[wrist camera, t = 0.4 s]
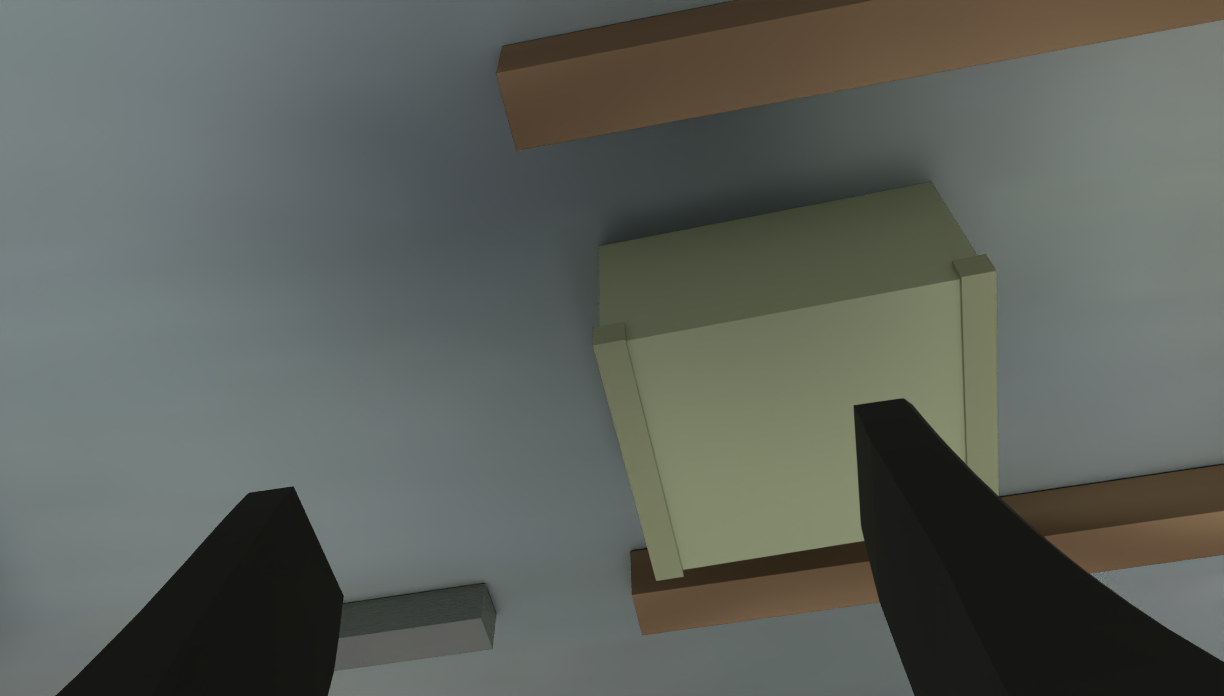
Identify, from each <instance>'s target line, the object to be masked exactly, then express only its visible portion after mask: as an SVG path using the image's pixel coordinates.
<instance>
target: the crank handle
mask: <svg viewBox="0 0 1224 696" xmlns="http://www.w3.org/2000/svg"><path fill="white" fill-rule="evenodd" d="M495 621H496V612H495V609H494V606H493V604H492V601H491V598H490V596H489V593H488V590H487V587H486V585H485V583H484V584H477V585H470V586H463V587H457V588H450V589H443V590H436V591H429V592H422V593H415V594H409V595H402V596H395V597H388V598H381V599H374V600H367V601H361V602H354V603H347V604H343V606H342V615H341V624H340V633H339V641H338V648H337V655H336V662H335V668H334V671H338V670H345V669H352V668H360V667H367V666H374V665H381V664H388V663H395V662H403V661H410V660H417V659H424V658H431V657H438V656H446V655H453V654H460V653H467V652H474V651H481V650H489V649H493V640H494V630H495Z"/></svg>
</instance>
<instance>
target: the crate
mask: <svg viewBox="0 0 1224 696" xmlns="http://www.w3.org/2000/svg"><path fill="white" fill-rule="evenodd" d="M593 349H594V352H595V356H596V360H597V363H598V367H599V371H600V375H601V378H602V382H603V386H604V389H605V393H606V397H607V401H608V404H609V408H610V412H611V415H612V419H613V423H614V426H615V430H616V434H617V438H618V441H619V445H620V449H621V452H622V456H623V460H624V464H625V467H626V471H627V475H628V478H629V482H630V486H631V489H632V493H633V497H634V501H635V504H636V508H637V512H638V515H639V519H640V523H641V527H642V530H643V534H644V538H645V541H646V545H647V549H648V553H649V556H650V560H651V564H652V567H653V571H654V575H655V578H656V581H659V580H666V579H672V578H678V577H684V573H683V570H685V569H691V568H698V567H704V566H710V565H716V564H723V563H729V562H735V561H741V560H748V559H754V558H760V557H766V556H773V555H779V554H785V553H791V552H797V551H804V550H810V549H816V548H822V547H829V546H835V545H841V544H847V543H854V542H860V541H864V537H863V533H862V529H861V519H860V503H859V487H858V471H857V455H856V439H855V423H854V407H853V405H858V404H865V403H872V402H879V401H886V400H893V399H900V398H904V399H906V400H907V401H908V402H910V403H911V404H913V406H914V407H915V408H916V409H917V410H918V412H919V413H920V414H921V415H922V416H923V418H924V419H925V420H926V421H927V422H928V423H929V425H930V426H931V427H932V428H933V429H934V430H935V431H936V433H937V434H938V435H939V436H940V437H941V438H942V439H943V440H944V441H945V442H946V444H947V445H948V446H949V447H950V448H951V449H952V450H953V451H954V452H955V453H956V454H957V455H958V456H959V457H960V458H961V459H962V460H963V461H964V463H965V464H966V465H967V466H968V467H969V468H970V469H971V470H972V471H973V472H974V473H975V474H976V475H977V476H978V477H979V478H980V479H981V480H982V481H983V482H984V483H985V484H987V485H988V486H989V487H990V488H991V489H992V490H993V491H994V492H995V493H996V494H997V495H998V496H999V483H998V380H997V277H996V269H995V268H994V266H993V265H992V263H991V261H990V260H989V258H988V257H987V255H986V254H984V255H978V256H977V254H976V252H975V251H974V249H973V248H972V246H971V244H970V243H969V241H968V240H967V238H966V236H965V235H964V233H963V232H962V230H961V228H960V227H959V225H958V223H957V222H956V220H955V219H954V217H953V215H952V214H951V212H950V211H949V209H948V207H947V206H946V204H945V203H944V201H943V199H942V198H941V196H940V195H939V193H938V191H937V190H936V188H935V187H934V185H933V183H932V182H927V183H922V184H917V185H912V186H907V187H902V188H897V189H891V190H886V191H881V192H876V193H871V194H866V195H861V196H855V197H850V198H845V199H840V200H835V201H830V202H825V203H819V204H814V205H809V206H804V207H799V208H794V209H788V210H783V211H778V212H773V213H768V214H763V215H758V216H752V217H747V218H742V219H737V220H732V221H727V222H722V223H716V224H711V225H706V226H701V227H696V228H691V229H686V230H680V231H675V232H670V233H665V234H660V235H655V236H650V237H644V238H639V239H634V240H629V241H624V242H619V243H613V244H608V245H603V246H599V326H598V327H593Z"/></svg>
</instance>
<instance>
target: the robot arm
mask: <svg viewBox="0 0 1224 696" xmlns="http://www.w3.org/2000/svg"><path fill="white" fill-rule="evenodd" d="M853 407H854V423H855V439H856V455H857V471H858V487H859V503H860V519H861V529H862V533H863V537H864V541H865V545H866V550H867V554H868V558H869V562H870V566H871V570H872V574H873V578H874V582H875V586H876V590H877V594H878V598H879V601H880V604H881V607H882V609H883V612H884V615H885V618H886V620H887V623H888V626H889V628H890V631H891V634H892V636H893V639H894V642H895V645H896V647H897V650H898V653H899V655H900V658H901V661H902V663H903V666H904V669H905V671H906V674H907V677H908V679H909V682H910V685H911V687H912V690H913V693H914V695H915V696H1224V662H1223V661H1221V660H1219V659H1218V658H1216V657H1214V656H1213V655H1211V654H1209V653H1208V652H1206V651H1204V650H1203V649H1201V648H1199V647H1198V646H1196V645H1194V644H1193V643H1191V642H1189V641H1188V640H1186V639H1184V638H1183V637H1181V636H1179V635H1178V634H1176V633H1174V632H1172V631H1171V630H1169V629H1167V628H1166V627H1164V626H1163V625H1161V624H1160V623H1158V622H1157V621H1155V620H1154V619H1152V618H1151V617H1150V616H1148V615H1147V614H1145V613H1144V612H1142V611H1141V610H1139V609H1138V608H1136V607H1135V606H1133V605H1132V604H1130V603H1129V602H1127V601H1126V600H1125V599H1123V598H1122V597H1120V596H1119V595H1118V594H1116V593H1115V592H1114V591H1112V590H1111V589H1109V588H1108V587H1107V586H1105V585H1104V584H1102V583H1101V582H1100V581H1098V580H1097V579H1096V578H1094V577H1093V576H1092V575H1090V574H1089V573H1088V572H1087V571H1085V570H1084V569H1083V568H1081V567H1080V566H1079V565H1078V564H1076V563H1075V562H1074V561H1073V560H1071V559H1070V558H1069V557H1068V556H1066V555H1065V554H1064V553H1063V552H1061V551H1060V550H1059V549H1058V548H1057V547H1055V546H1054V545H1053V544H1052V543H1051V542H1049V541H1048V540H1047V539H1046V538H1045V537H1044V536H1042V535H1041V534H1040V533H1039V532H1038V531H1036V530H1035V529H1034V528H1033V527H1032V526H1031V525H1030V524H1028V523H1027V522H1026V521H1025V520H1024V519H1023V518H1022V517H1021V516H1019V515H1018V514H1017V513H1016V512H1015V511H1014V510H1013V509H1012V508H1011V507H1010V506H1009V505H1008V504H1007V503H1005V502H1004V501H1003V500H1002V499H1001V498H1000V497H999V496H998V495H997V494H996V493H995V492H994V491H993V490H992V489H991V488H990V487H989V486H988V485H987V484H985V483H984V482H983V481H982V480H981V479H980V478H979V477H978V476H977V475H976V474H975V473H974V472H973V471H972V470H971V469H970V468H969V467H968V466H967V465H966V464H965V463H964V461H963V460H962V459H961V458H960V457H959V456H958V455H957V454H956V453H955V452H954V451H953V450H952V449H951V448H950V447H949V446H948V445H947V444H946V442H945V441H944V440H943V439H942V438H941V437H940V436H939V435H938V434H937V433H936V431H935V430H934V429H933V428H932V427H931V426H930V425H929V423H928V422H927V421H926V420H925V419H924V418H923V416H922V415H921V414H920V413H919V412H918V410H917V409H916V408H915V407H914V406H913V404H911V403H910V402H908V401H907V400H906V399H904V398H900V399H893V400H886V401H879V402H872V403H865V404H858V405H853ZM343 597H344V596H343V594H342V591H341V589H340V587H339V585H338V583H337V581H336V578H335V576H334V574H333V572H332V570H331V567H330V565H329V563H328V561H327V559H326V556H325V554H324V552H323V550H322V548H321V545H320V543H319V541H318V539H317V537H316V535H315V532H314V530H313V528H312V526H311V524H310V521H309V519H308V517H307V515H306V513H305V510H304V508H303V506H302V504H301V502H300V499H299V497H298V495H297V493H296V491H295V489H294V486H293V487H286V488H279V489H272V490H265V491H259V492H252V493H248V494H247V495H246V496H245V497H244V498H243V499H242V500H241V501H240V502H239V503H238V504H237V505H236V506H235V508H234V509H233V510H232V511H231V512H230V513H229V514H228V515H227V516H226V517H225V518H224V519H223V520H222V522H221V523H220V524H219V525H218V526H217V527H216V528H215V529H214V530H213V532H212V533H211V534H210V535H209V536H208V537H207V538H206V539H205V540H204V542H203V543H202V544H201V545H200V546H199V547H198V548H197V549H196V551H195V552H194V553H193V554H192V555H191V556H190V557H189V558H188V560H187V561H186V562H185V563H184V564H183V565H182V566H181V567H180V568H179V569H178V571H177V572H176V573H175V574H174V575H173V576H172V577H171V578H170V579H169V580H168V582H167V583H166V584H165V585H164V586H163V587H162V588H161V589H160V590H159V591H158V593H157V594H156V595H155V596H154V597H153V598H152V599H151V600H150V601H149V602H148V603H147V605H146V606H145V607H144V608H143V609H142V610H141V611H140V612H139V613H138V614H137V615H136V616H135V617H134V618H133V619H132V620H131V621H130V622H129V623H128V624H127V625H126V626H125V627H124V628H123V629H122V631H121V632H120V633H119V634H118V635H117V636H116V637H115V638H114V639H113V640H112V641H111V642H110V643H109V644H108V645H107V646H106V647H105V648H104V649H103V650H102V651H101V652H100V653H99V654H98V655H97V656H96V657H95V658H94V659H93V660H92V661H91V662H90V663H89V664H88V665H87V666H86V667H85V668H84V669H83V670H82V671H81V672H80V673H79V674H78V675H77V676H76V677H75V678H74V679H73V680H72V681H71V682H70V683H69V684H68V685H66V686H65V687H64V688H63V689H62V690H61V691H60V692H59V693H58V694H57V695H56V696H328V692H329V688H330V685H331V681H332V677H333V673H334V668H335V662H336V655H337V648H338V641H339V633H340V624H341V615H342V606H343Z"/></svg>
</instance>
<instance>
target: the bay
mask: <svg viewBox="0 0 1224 696" xmlns="http://www.w3.org/2000/svg"><path fill="white" fill-rule="evenodd" d="M1223 19H1224V0H736V1H731V2H726V3H721V4H716V5H711V6H706V7H701V8H696V9H690V10H685V11H680V12H675V13H670V14H665V15H660V16H655V17H650V18H644V19H639V20H634V21H629V22H624V23H619V24H614V25H609V26H604V27H599V28H593V29H588V30H583V31H578V32H573V33H568V34H563V35H558V36H553V37H547V38H542V39H537V40H532V41H527V42H522V43H517V44H512V45H507V46H502V51H501V55H500V59H499V63H498V67H497V72H496V75H497V79H498V82H499V86H500V90H501V94H502V98H503V102H504V106H505V109H506V113H507V117H508V121H509V125H510V129H511V132H512V136H513V140H514V144H515V148H516V151H518V150H524V149H529V148H534V147H540V146H545V145H551V144H556V143H561V142H567V141H572V140H577V139H583V138H588V137H594V136H599V135H604V134H610V133H615V132H621V131H626V130H631V129H637V128H642V127H647V126H653V125H658V124H664V123H669V122H674V121H680V120H685V119H691V118H696V117H701V116H707V115H712V114H717V113H723V112H728V111H734V110H739V109H744V108H750V107H755V106H761V105H766V104H771V103H777V102H782V101H787V100H793V99H798V98H804V97H809V96H814V95H820V94H825V93H830V92H836V91H841V90H847V89H852V88H857V87H863V86H868V85H874V84H879V83H884V82H890V81H895V80H900V79H906V78H911V77H917V76H922V75H927V74H933V73H938V72H944V71H949V70H954V69H960V68H965V67H970V66H976V65H981V64H987V63H992V62H997V61H1003V60H1008V59H1014V58H1019V57H1024V56H1030V55H1035V54H1040V53H1046V52H1051V51H1057V50H1062V49H1067V48H1073V47H1078V46H1084V45H1089V44H1094V43H1100V42H1105V41H1110V40H1116V39H1121V38H1127V37H1132V36H1137V35H1143V34H1148V33H1154V32H1159V31H1164V30H1170V29H1175V28H1180V27H1186V26H1191V25H1197V24H1202V23H1207V22H1213V21H1218V20H1223ZM1000 498H1001V499H1002V500H1003V501H1004V502H1005V503H1007V504H1008V505H1009V506H1010V507H1011V508H1012V509H1013V510H1014V511H1015V512H1016V513H1017V514H1018V515H1019V516H1021V517H1022V518H1023V519H1024V520H1025V521H1026V522H1027V523H1028V524H1030V525H1031V526H1032V527H1033V528H1034V529H1035V530H1036V531H1038V532H1039V533H1040V534H1041V535H1042V536H1044V537H1045V538H1046V539H1047V540H1048V541H1049V542H1051V543H1052V544H1053V545H1054V546H1055V547H1057V548H1058V549H1059V550H1060V551H1061V552H1063V553H1064V554H1065V555H1066V556H1068V557H1069V558H1070V559H1071V560H1073V561H1074V562H1075V563H1076V564H1078V565H1079V566H1080V567H1081V568H1083V569H1084V570H1085V571H1087V572H1088V573H1096V572H1103V571H1110V570H1117V569H1125V568H1132V567H1139V566H1146V565H1153V564H1161V563H1168V562H1175V561H1182V560H1190V559H1197V558H1204V557H1211V556H1218V555H1224V465H1218V466H1212V467H1205V468H1198V469H1191V470H1184V471H1177V472H1171V473H1164V474H1157V475H1150V476H1143V477H1136V478H1130V479H1123V480H1116V481H1109V482H1102V483H1095V484H1089V485H1082V486H1075V487H1068V488H1061V489H1054V490H1048V491H1041V492H1034V493H1027V494H1020V495H1013V496H1007V497H1000ZM630 555H631V583H632V597H633V601H634V605H635V609H636V613H637V616H638V620H639V624H640V628H641V632H642V635H648V634H655V633H662V632H669V631H676V630H684V629H691V628H698V627H705V626H713V625H720V624H727V623H734V622H741V621H749V620H756V619H763V618H770V617H778V616H785V615H792V614H799V613H807V612H814V611H821V610H828V609H835V608H843V607H850V606H857V605H864V604H872V603H879V602H880V601H879V598H878V594H877V590H876V586H875V582H874V578H873V574H872V570H871V566H870V562H869V558H868V554H867V550H866V545H865V541H860V542H854V543H847V544H841V545H835V546H829V547H822V548H816V549H810V550H804V551H797V552H791V553H785V554H779V555H773V556H766V557H760V558H754V559H748V560H741V561H735V562H729V563H723V564H716V565H710V566H704V567H698V568H691V569H685V570H683V573H684V577H678V578H672V579H666V580H659V581H656V578H655V575H654V571H653V567H652V564H651V560H650V556H649V553H648V549H644V550H638V551H631V552H630Z"/></svg>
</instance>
